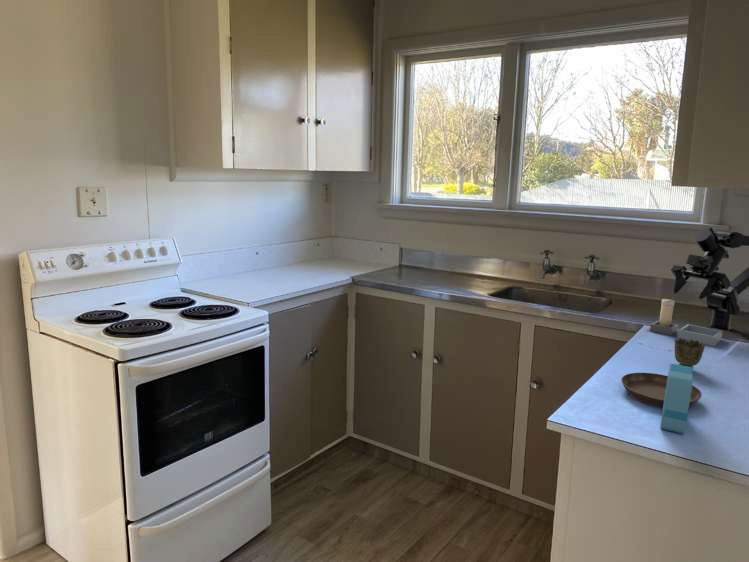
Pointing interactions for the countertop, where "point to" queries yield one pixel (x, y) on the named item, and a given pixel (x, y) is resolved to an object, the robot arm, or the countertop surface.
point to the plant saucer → (652, 388)
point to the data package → (677, 398)
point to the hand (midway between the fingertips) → (686, 295)
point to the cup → (688, 352)
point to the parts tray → (700, 334)
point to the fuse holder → (664, 329)
